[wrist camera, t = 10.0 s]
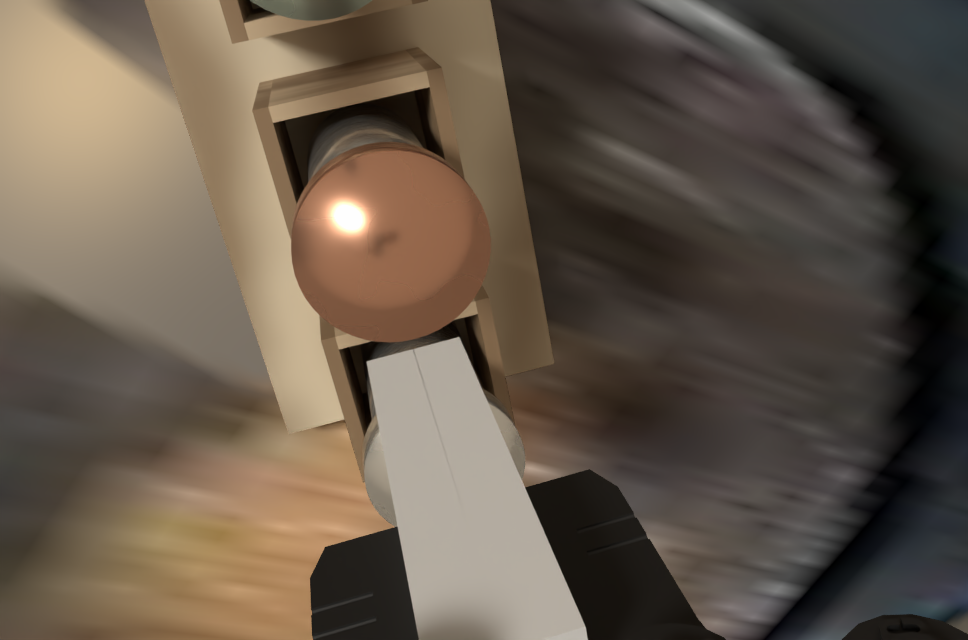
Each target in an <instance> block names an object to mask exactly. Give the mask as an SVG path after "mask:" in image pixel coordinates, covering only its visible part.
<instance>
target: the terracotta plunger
mask: <svg viewBox="0 0 968 640" xmlns="http://www.w3.org/2000/svg"><path fill="white" fill-rule="evenodd" d="M307 165H308V184H307V185H306V187H305V188H304V190H303V192H302V194H301V196H300V198H299V200H298V203H297V205H296V208H295V211H294V216H293V221H292V232H291V256H292V265H293V269H294V274H295V277H296V280H297V282H298V285H299V288H300V289H301V291H302V293H303V295H304V297H305V298H306V300H307V301H308V302H309V304H310V305H311V307H312V308H313V309H314V310H315V311H316V312H317V313H318V314H319V315H320V316H321V317H322V318H323V319H324V320H326V321H327V322H328V323H330V324H331V325H332V326H334V327H336V328H337V329H339V330H341V331H343V332H345V333H347V334H349V335H352V336H354V337H358V338H361V339H364V340H370V341H376V342H403V341H408V340H413V339H417V338H420V337H423V336H426V335H429V334H431V333H433V332H435V331H437V330H439V329H441V328H442V327H444V326H446V325H447V324H449V323H450V322H452V321H453V320H454V319H455V318H457V317H458V316H459V315H460V314H461V313H462V312H463V311H464V310H465V309H466V308H467V307H468V306H469V304H470V303H471V302H472V300H473V299H474V298H475V296H476V294H477V293H478V291H479V289H480V288H481V286H482V283H483V281H484V279H485V276H486V273H487V269H488V266H489V261H490V254H491V237H490V229H489V224H488V221H487V217H486V214H485V212H484V209H483V207H482V205H481V203H480V201H479V199H478V198H477V196H476V194H475V193H474V191H473V190H472V189H471V187H470V186H469V184H468V183H467V182H466V180H465V179H464V178H463V177H462V175H461V174H460V173H459V172H458V171H457V170H456V169H455V168H454V167H453V166H452V165H451V164H450V163H448V162H447V161H446V160H444V159H443V158H442V157H440V156H438V155H437V154H435V153H433V152H431V151H429V150H427V149H424V148H423V147H422V145H421V143H420V142H419V140H418V139H417V137H416V135H415V134H414V132H413V130H412V129H411V127H410V126H409V125H408V124H407V122H406V121H405V120H404V119H403V118H402V117H400V116H399V115H398V114H396V113H395V112H393V111H391V110H390V109H388V108H385V107H382V106H379V105H375V104H368V103H359V104H353V105H349V106H345V107H342V108H340V109H338V110H336V111H334V112H333V113H331V114H330V115H328V116H327V117H326V118H325V119H324V120H323V121H322V122H321V123H320V124H319V126H318V127H317V128H316V130H315V132H314V134H313V135H312V138H311V140H310V143H309V148H308V154H307Z"/></svg>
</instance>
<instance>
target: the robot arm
mask: <svg viewBox="0 0 968 640" xmlns="http://www.w3.org/2000/svg"><path fill="white" fill-rule="evenodd" d="M366 362H367V367H368V372H369V378H370V383H371V388H372V393H373V399H374V404H375V409H376V415H377V420H378V425H379V431H380V436H381V441H382V446H383V452H384V457H385V462H386V468H387V473H388V478H389V484H390V489H391V494H392V499H393V505H394V510H395V515H396V521H397V526H398V527H394V528H391V529H387V530H384V531H380V532H377V533H373V534H370V535H366V536H363V537H359V538H356V539H352V540H348V541H345V542H341V543H338V544H334V545H331V546H327V547H325V549H324V551H323V553H322V555H321V557H320V559H319V561H318V563H317V565H316V567H315V569H314V571H313V573H312V575H311V577H310V589H311V610H312V615H311V617H312V636H313V640H726V639H725V638H724V637H722V636H719V635H717V634H715V633H713V632H711V631H709V630H707V629H706V628H705V627H704V626H703V624H702V623H701V622H700V621H699V620H698V618H697V617H696V615H695V613H694V612H693V610H692V608H691V607H690V605H689V603H688V602H687V600H686V598H685V597H684V595H683V593H682V592H681V590H680V589H679V587H678V585H677V584H676V582H675V580H674V579H673V577H672V575H671V574H670V572H669V570H668V569H667V567H666V565H665V564H664V562H663V561H662V559H661V557H660V556H659V554H658V552H657V551H656V549H655V547H654V546H653V544H652V542H651V541H650V539H648V538H647V535H646V532H645V531H644V529H643V528H642V526H641V524H640V523H639V521H638V519H637V518H635V517H634V513H633V511H632V509H631V508H630V506H629V504H628V503H627V501H626V500H625V498H624V496H623V495H622V493H621V491H620V490H619V488H618V487H617V486H615V485H614V484H612V483H611V482H609V481H607V480H606V479H604V478H603V477H601V476H599V475H598V474H596V473H595V472H593V471H591V470H590V469H589V470H585V471H582V472H578V473H575V474H571V475H568V476H564V477H561V478H557V479H554V480H550V481H547V482H543V483H540V484H536V485H533V486H529V487H526V488H525V487H524V484H523V482H522V480H521V477H520V475H519V473H518V471H517V468H516V466H515V464H514V461H513V459H512V457H511V454H510V452H509V450H508V448H507V445H506V443H505V441H504V438H503V436H502V434H501V432H500V429H499V427H498V425H497V422H496V420H495V418H494V415H493V413H492V411H491V409H490V406H489V404H488V402H487V399H486V397H485V395H484V392H483V390H482V388H481V386H480V383H479V381H478V379H477V376H476V374H475V372H474V370H473V367H472V365H471V363H470V360H469V358H468V356H467V353H466V351H465V349H464V347H463V344H462V342H461V340H460V337H457V338H454V339H450V340H446V341H442V342H438V343H435V344H431V345H427V346H423V347H419V348H416V349H412V350H408V351H404V352H400V353H396V354H393V355H389V356H385V357H381V358H377V359H374V360H370V361H366ZM842 640H968V634H966V633H964V632H963V631H961V630H959V629H957V628H955V627H953V626H951V625H949V624H947V623H945V622H943V621H939V620H935V619H930V618H926V617H922V616H917V615H913V614H907V615H882V616H879V617H876V618H874V619H871V620H868V621H865V622H862V623H860V624H858V625H857V626H856V627H855V628H854V629H852V630H851V631H850V632H849V633H848V634H847V635H846V636H845V637H844V638H843V639H842Z"/></svg>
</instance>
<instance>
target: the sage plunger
mask: <svg viewBox="0 0 968 640" xmlns="http://www.w3.org/2000/svg"><path fill="white" fill-rule="evenodd" d="M250 1H252V2H253V3H255V4H256V5H258V6H260V7H262V8H263V9H265V10H267V11H270V12H272V13H275V14H277V15H280V16H284V17H288V18H291V19H297V20H305V21H321V20H327V19H334V18H337V17H341V16H344V15H347V14H349V13H352V12H354V11H356V10H358V9H360V8H362V7H363V6H365V5H366V4H368V3H369V2H371V1H372V0H250Z"/></svg>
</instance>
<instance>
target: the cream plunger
mask: <svg viewBox="0 0 968 640" xmlns="http://www.w3.org/2000/svg"><path fill="white" fill-rule="evenodd" d="M457 337H460V340H461V342H462V344H463V347H464V349H465V351H466V353H467V356H468V358H469V360H470V357H469V355H468V352H467V350H466V348H465V345H464V343H463V340H462V338H461V336H460V333H459V331H458V328H457V326H456V324H455V321H454V320H453V321H452V322H450V323H449V324H447V325H446V326H444V327H442V328H441V329H439V330H437V331H435V332H433V333H431V334H429V335H426V336H423V337H420V338H417V339H413V340H408V341H403V342H376V341H371V342H367V343H363V344H360V348H361V354H362V360H363V366H364V373H365V379H366V385H367V392H368V398H369V404H370V411H371V417H372V421H371V423H370V425H369V427H368V429H367V431H366V434H365V437H364V441H363V447H362V462H363V470H364V478H365V485H366V489H367V493H368V496H369V498H370V500H371V502H372V504H373V506H374V507H375V509H376V510H377V511H378V513H379V514H380V515H381V516H382V517H383V518H384V519H385V520H386V521H388V522H389V523H390V524H392V525H393V526H395V527H398V526H397V521H396V515H395V510H394V505H393V499H392V494H391V489H390V484H389V478H388V473H387V468H386V462H385V457H384V452H383V446H382V441H381V436H380V431H379V425H378V420H377V415H376V409H375V404H374V399H373V393H372V388H371V383H370V378H369V372H368V367H367V362H366V361H370V360H374V359H377V358H381V357H385V356H389V355H393V354H396V353H400V352H404V351H408V350H412V349H416V348H419V347H423V346H427V345H431V344H435V343H438V342H442V341H446V340H450V339H454V338H457ZM470 363H471V365H472V367H473V364H472V362H471V360H470ZM473 370H474V372H475V369H474V367H473ZM475 374H476V372H475ZM476 376H477V374H476ZM477 379H478V376H477ZM478 381H479V379H478ZM479 383H480V381H479ZM480 386H481V384H480ZM481 388H482V386H481ZM482 390H483V392H484V395H485V397H486V399H487V402H488V404H489V406H490V409H491V411H492V413H493V415H494V418H495V420H496V422H497V425H498V427H499V429H500V432H501V434H502V436H503V438H504V441H505V443H506V445H507V448H508V450H509V452H510V454H511V457H512V459H513V461H514V464H515V466H516V468H517V471H518V473H519V475H520V477H521V480H522V478H523V475H524V469H525V452H524V447H523V443H522V440H521V438H520V436H519V433H518V431H517V429H516V427H515V424H514V422H513V420H512V418H511V416H510V414H509V412H508V410H507V409H506V407H505V406H504V405H503V404H502V403H501V402H500V400H499V399H498V398H496V397H495V396H494V395H493V394H491V393H490V392H488V391H487V390H485V389H483V388H482Z"/></svg>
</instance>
